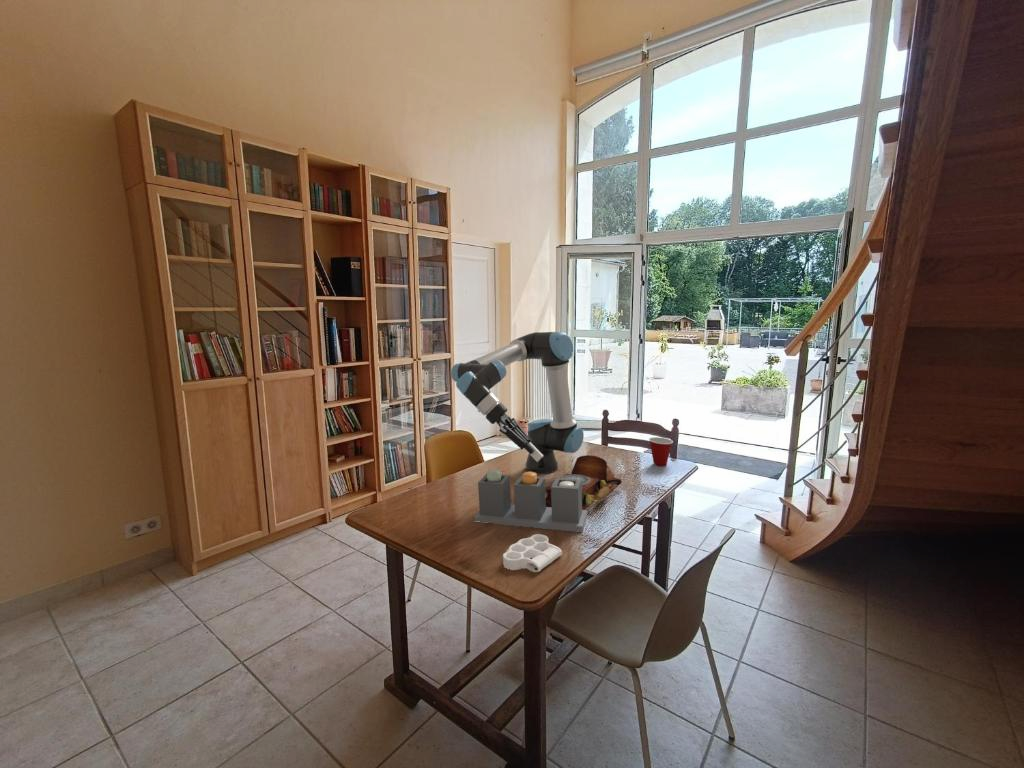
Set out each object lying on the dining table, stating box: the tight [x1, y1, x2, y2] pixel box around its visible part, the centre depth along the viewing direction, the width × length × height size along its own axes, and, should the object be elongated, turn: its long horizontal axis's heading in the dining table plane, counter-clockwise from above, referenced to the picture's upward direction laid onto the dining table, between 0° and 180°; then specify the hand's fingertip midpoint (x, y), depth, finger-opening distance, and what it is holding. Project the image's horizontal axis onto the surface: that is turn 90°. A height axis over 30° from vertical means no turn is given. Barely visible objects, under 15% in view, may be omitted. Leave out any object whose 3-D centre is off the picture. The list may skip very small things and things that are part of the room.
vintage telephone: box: [545, 454, 622, 510], centre depth 183 cm, size 24×12×40 cm
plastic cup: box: [648, 436, 674, 467], centre depth 214 cm, size 11×11×12 cm
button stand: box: [473, 473, 588, 533], centre depth 161 cm, size 38×13×14 cm, turn 74°
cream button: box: [559, 481, 574, 487], centre depth 157 cm, size 5×5×4 cm
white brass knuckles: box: [502, 533, 563, 573], centre depth 136 cm, size 3×18×15 cm
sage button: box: [486, 469, 502, 482], centre depth 164 cm, size 5×5×4 cm
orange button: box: [521, 471, 538, 485], centre depth 160 cm, size 5×5×4 cm
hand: (540, 458), depth 156 cm, fingers closed
